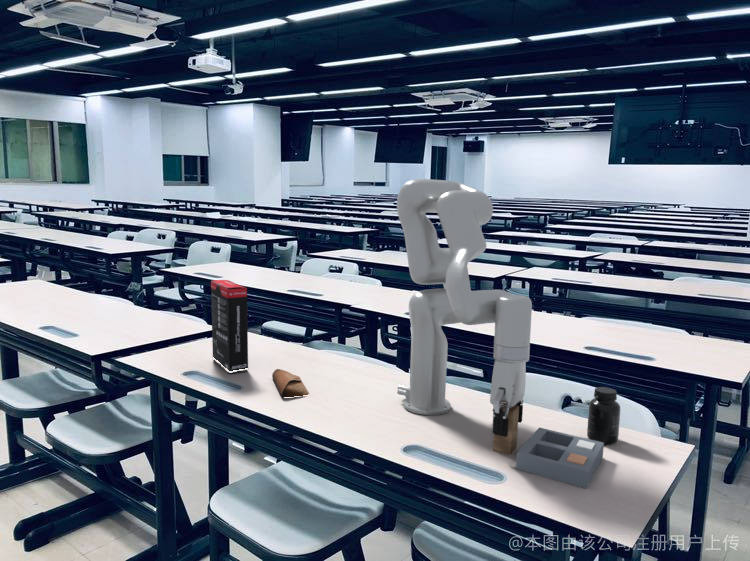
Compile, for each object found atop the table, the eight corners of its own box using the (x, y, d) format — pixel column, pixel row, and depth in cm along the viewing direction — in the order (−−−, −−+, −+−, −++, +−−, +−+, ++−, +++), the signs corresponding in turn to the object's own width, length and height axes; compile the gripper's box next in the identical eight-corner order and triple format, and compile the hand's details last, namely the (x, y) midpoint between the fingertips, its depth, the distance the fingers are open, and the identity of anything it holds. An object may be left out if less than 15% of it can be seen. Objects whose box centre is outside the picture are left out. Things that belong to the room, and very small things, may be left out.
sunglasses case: (312, 396, 153) (300, 377, 151) (290, 411, 151) (278, 392, 149) (299, 376, 170) (288, 359, 168) (279, 389, 168) (268, 372, 166)
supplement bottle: (609, 433, 133) (614, 385, 132) (623, 445, 127) (628, 395, 125) (581, 433, 133) (585, 385, 132) (593, 445, 126) (598, 395, 125)
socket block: (515, 468, 114) (517, 451, 113) (538, 441, 127) (539, 426, 127) (587, 488, 107) (588, 470, 106) (602, 458, 120) (604, 441, 120)
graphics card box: (249, 372, 173) (249, 286, 169) (228, 375, 169) (227, 287, 165) (230, 358, 187) (230, 278, 183) (210, 361, 183) (209, 280, 179)
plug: (492, 450, 122) (495, 407, 121) (499, 444, 126) (501, 401, 124) (510, 455, 120) (513, 411, 119) (516, 448, 124) (519, 405, 122)
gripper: (507, 342, 129) (504, 412, 131) (480, 357, 114) (476, 436, 117) (540, 346, 125) (535, 419, 127) (515, 363, 110) (511, 445, 113)
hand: (507, 427), depth 122 cm, fingers open, 9 cm apart
